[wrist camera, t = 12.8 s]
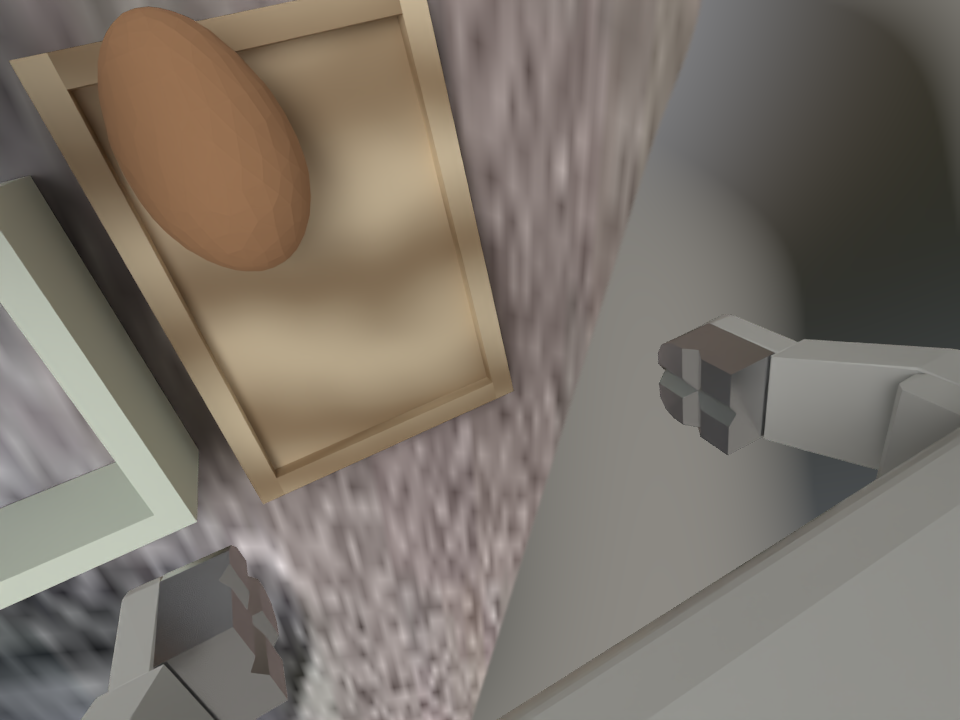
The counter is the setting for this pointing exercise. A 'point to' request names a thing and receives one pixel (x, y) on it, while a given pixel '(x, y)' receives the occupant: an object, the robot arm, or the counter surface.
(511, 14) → the counter surface
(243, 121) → the egg
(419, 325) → the tray
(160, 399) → the bin
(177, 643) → the robot arm
